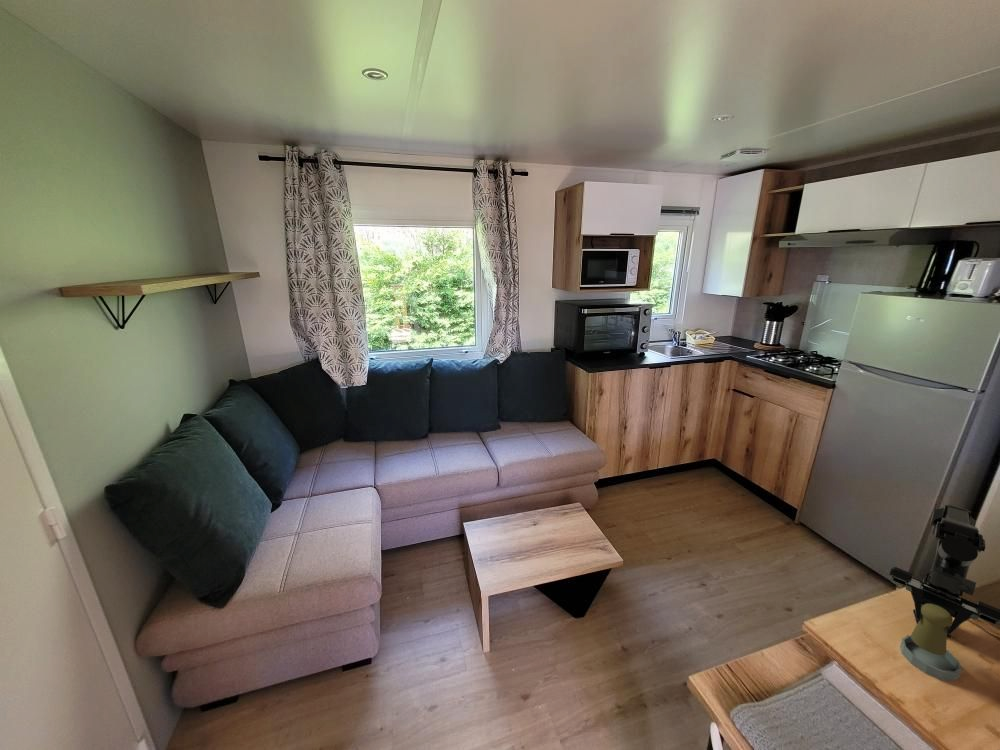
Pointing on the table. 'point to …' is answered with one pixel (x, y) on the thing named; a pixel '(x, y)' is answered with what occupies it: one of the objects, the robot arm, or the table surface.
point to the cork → (932, 629)
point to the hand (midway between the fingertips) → (933, 626)
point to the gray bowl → (931, 661)
